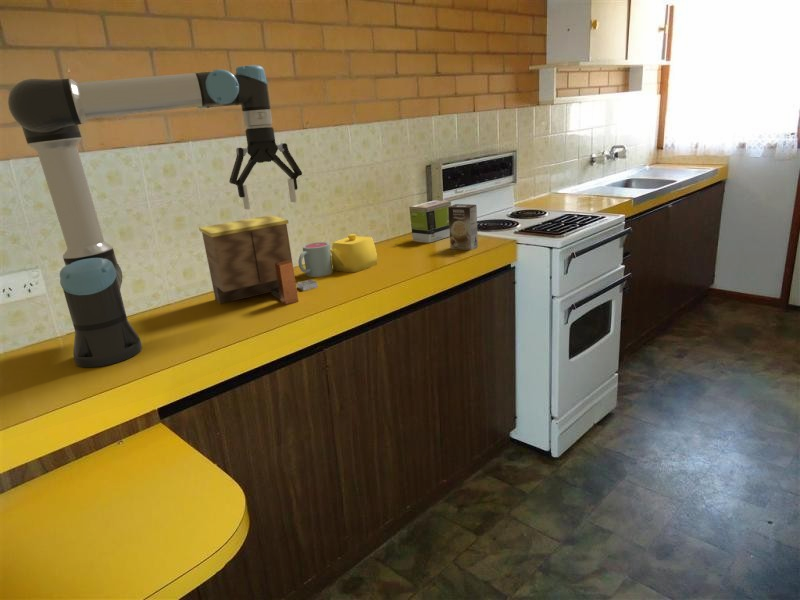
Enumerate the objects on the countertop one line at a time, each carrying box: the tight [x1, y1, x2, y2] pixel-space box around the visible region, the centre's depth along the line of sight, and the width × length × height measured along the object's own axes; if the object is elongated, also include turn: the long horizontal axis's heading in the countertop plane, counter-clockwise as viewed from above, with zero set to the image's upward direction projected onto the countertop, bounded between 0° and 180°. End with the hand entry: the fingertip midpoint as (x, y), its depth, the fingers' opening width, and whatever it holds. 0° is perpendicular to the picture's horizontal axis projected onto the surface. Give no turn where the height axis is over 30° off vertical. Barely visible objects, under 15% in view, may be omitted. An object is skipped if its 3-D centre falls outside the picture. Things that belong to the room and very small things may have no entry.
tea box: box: [408, 199, 452, 244], centre depth 235 cm, size 15×10×15 cm
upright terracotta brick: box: [270, 260, 299, 305], centre depth 173 cm, size 4×14×12 cm, turn 32°
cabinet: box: [199, 215, 293, 305], centre depth 176 cm, size 23×15×23 cm, turn 121°
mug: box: [298, 241, 334, 278], centre depth 197 cm, size 14×9×10 cm
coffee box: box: [448, 203, 479, 251], centre depth 214 cm, size 9×6×16 cm
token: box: [296, 279, 319, 292], centre depth 184 cm, size 5×5×2 cm
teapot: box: [330, 233, 378, 274], centre depth 202 cm, size 20×12×12 cm, turn 142°
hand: (270, 205), depth 162 cm, fingers open, 13 cm apart
